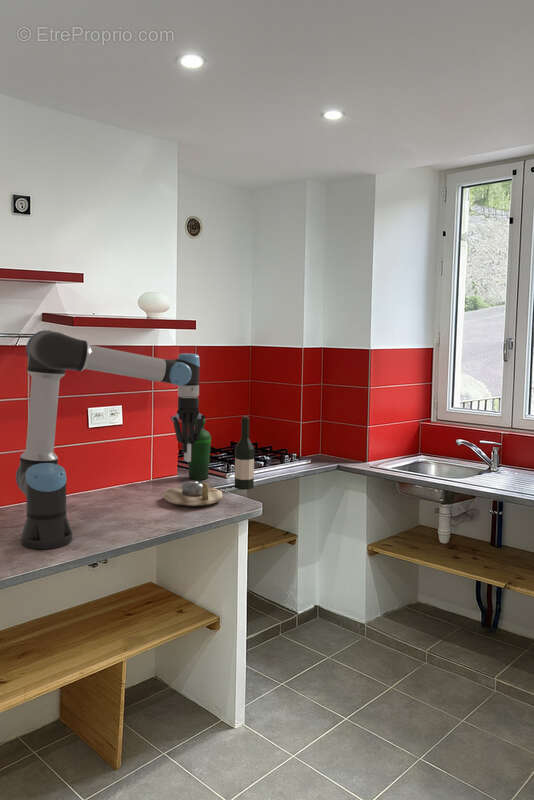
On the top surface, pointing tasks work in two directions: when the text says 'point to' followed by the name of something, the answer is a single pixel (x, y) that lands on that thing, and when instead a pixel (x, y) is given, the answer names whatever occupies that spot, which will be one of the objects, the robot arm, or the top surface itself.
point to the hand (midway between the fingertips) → (187, 460)
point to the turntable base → (193, 505)
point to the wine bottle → (244, 459)
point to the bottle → (200, 455)
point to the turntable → (207, 497)
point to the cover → (192, 488)
